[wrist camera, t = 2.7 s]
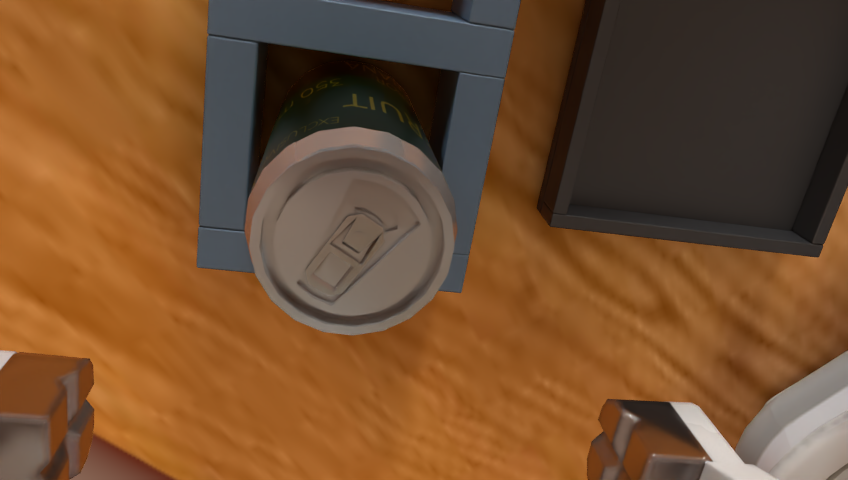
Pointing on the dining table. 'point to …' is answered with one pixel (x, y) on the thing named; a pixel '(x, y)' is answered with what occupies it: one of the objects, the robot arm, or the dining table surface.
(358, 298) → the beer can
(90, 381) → the robot arm
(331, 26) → the frame
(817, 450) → the dish rack
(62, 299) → the dining table surface
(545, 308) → the dining table surface
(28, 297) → the dining table surface
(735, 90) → the tray
